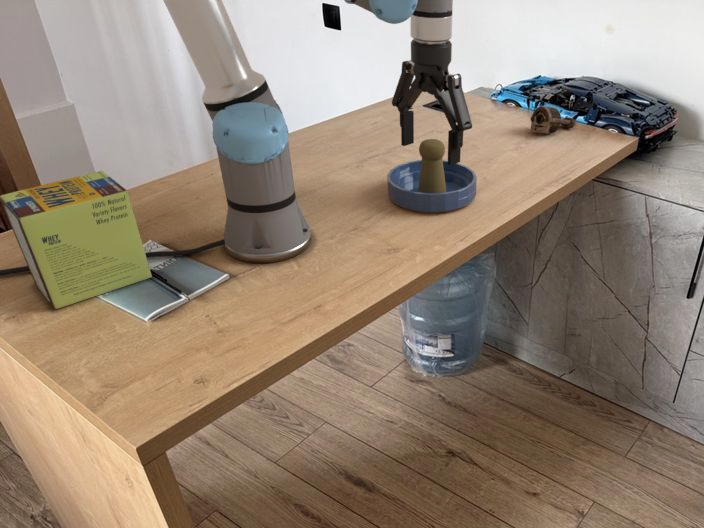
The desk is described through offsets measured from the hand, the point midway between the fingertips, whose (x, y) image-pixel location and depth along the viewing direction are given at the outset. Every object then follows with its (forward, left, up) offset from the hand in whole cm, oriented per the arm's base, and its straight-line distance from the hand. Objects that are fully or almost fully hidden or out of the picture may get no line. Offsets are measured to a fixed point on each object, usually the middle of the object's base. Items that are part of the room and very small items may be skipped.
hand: (430, 153), depth 135 cm
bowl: (0, 0, -9) cm, 9 cm away
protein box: (-64, +13, -10) cm, 66 cm away
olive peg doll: (0, 0, -9) cm, 9 cm away
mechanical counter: (+51, +8, -10) cm, 53 cm away
